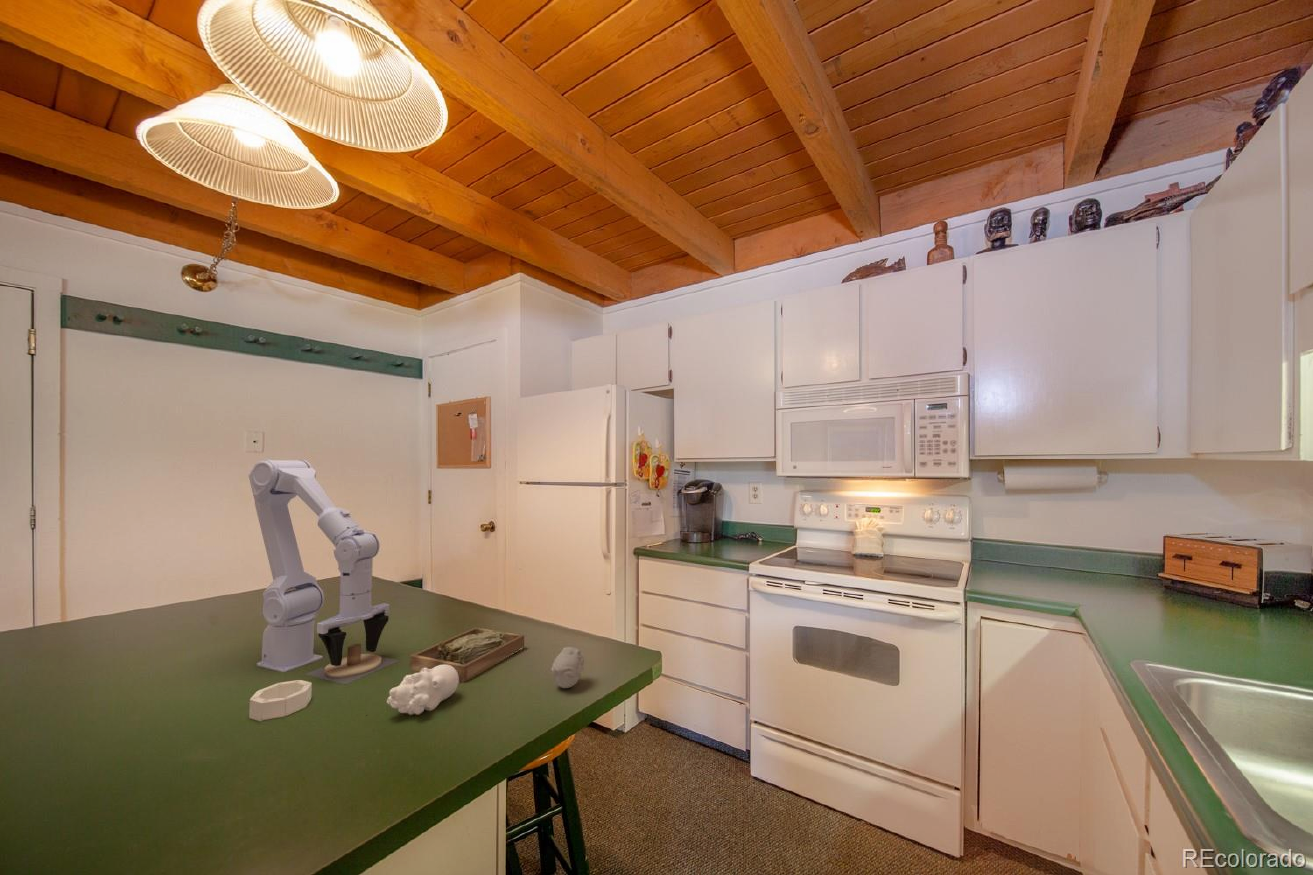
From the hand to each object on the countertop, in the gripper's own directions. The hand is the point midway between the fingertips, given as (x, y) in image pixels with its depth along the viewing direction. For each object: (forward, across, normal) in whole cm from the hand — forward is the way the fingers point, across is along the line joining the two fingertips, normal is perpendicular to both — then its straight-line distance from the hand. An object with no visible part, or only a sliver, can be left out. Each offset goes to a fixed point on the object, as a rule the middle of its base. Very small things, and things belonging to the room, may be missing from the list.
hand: (354, 657), depth 100 cm
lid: (+2, 0, 0) cm, 2 cm away
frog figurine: (+3, +10, -46) cm, 47 cm away
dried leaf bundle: (+3, +13, -19) cm, 24 cm away
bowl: (+2, -16, -4) cm, 17 cm away
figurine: (+3, -6, -27) cm, 28 cm away
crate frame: (+2, +13, -19) cm, 23 cm away
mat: (+2, 0, 0) cm, 2 cm away
